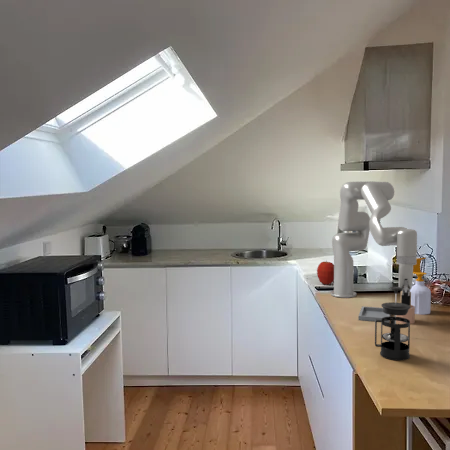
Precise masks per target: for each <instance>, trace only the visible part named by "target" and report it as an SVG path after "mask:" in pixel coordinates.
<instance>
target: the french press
mask: <svg viewBox="0 0 450 450" xmlns="http://www.w3.org/2000/svg"><path fill="white" fill-rule="evenodd" d="M388 289H390V290H392V291H394V292H393V293H394V295H395V296H394V297H395V300H394V301H395V302H389V301H388V302H384V303H381V308H383V312H384V313H386V314H389V315H390V317H383V318H382V319H381V320H375V322H374V346H375V347H376V348H380V353H379V355H380V357H382V358H383V359H387V360H389V361H390V360H391V361H399V362H400V361H408V360H409V359H410V358H411V354H410V345H411V343H410V341H411V339H410V338H411V337H410V335H411V324H410V320H408V319H406V318H402V317H396V315H406V314H407V312H408V310H409V309H410V306H409V305H407V304H403V303H400V302H397V294H398V291H402V290H403V288H400V287H398V286H390V287H389V288H388ZM388 320H390V322H389V323H387V322H384V321H388ZM397 321H402V322H406V324H402V323H397ZM378 323H380V326H381V327H380V328H381V329H380V343H379V344H378V343H377V342H378V341H377V337H378V336H377V333H378V332H377V331H378V330H377V329H378V328H377V327H378V326H377V324H378ZM383 326H384V327H388V328H390V332H386V333H383ZM406 328H408V329H407V331H408V333H407V335H406V334H403V333H401V329H406ZM383 340H385V341H383ZM406 342H407V343H406Z"/></svg>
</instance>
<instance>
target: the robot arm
mask: <svg viewBox="0 0 450 450" xmlns="http://www.w3.org/2000/svg"><path fill="white" fill-rule="evenodd" d="M394 196H395V188H394V186H393V185H392V184H391V183H390V182H388V181H347V182H345V183H343V184H342V185H341V186H340V190H339V198H340V207H339V213H338V220H337V227H338V229H339V231H342V232H339V233H336V234H334V235H333V237H332V240H331V246H332V250H333V264H334V281H333V290H332V291H331V292H330V296H332V297H335V298H343V299H345V298H346V299H347V298H348V299H349V298H355V297H357V292H356V291H354V258H353V256H352V255H351V254H350V252H361V251H364V250H365V249H366V248H367V246H368V243H369V242H368V241H369V235H370V233H371V235H372V237H373V238H372V239H374V241H375V243H376V244H377V245H379V246H382V247H384V246H385V247H387V246H396V263H395V264H397V265H398V286H397V287H400V288H403V290H401V291H402V295H401V294H400V297H401V303H403V304H407V305H410V289H411V288H412V286H413V277H414V273H413V265H416V262H417V258H418V257H417V256H418V255H417V254H418V253H417V252H418V251H417V250H418V249H417V247H418V231H417V230H415V229H412V228H406V227H404V226H390V227H389V226H388V227H383V226H382V224H381V222H380V220H381V219H383V218H385V217H387V215H389V214H390V212H391V210H392V206H391V204H390V202H389V201H391V200H392V199H393V198H394ZM358 200H360V201H361V200H363V201H364V202H365V204H366V205H367V208H368V210H369V211H370V213H371V215H369V213H367V212H365V211H358V210H359V202H358Z"/></svg>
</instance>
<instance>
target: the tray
mask: <svg viewBox="0 0 450 450" xmlns="http://www.w3.org/2000/svg"><path fill="white" fill-rule="evenodd" d="M390 316H391V315H389V314H386V313H384V312H383V307H374V306H364V305H363V306H361V308H360V311H359V314H358V319H357V321H363V322H364V321H365V322H374V323H375V320H381V319H382V318H383V317H390ZM384 322H387V323H390V322H391V320H388V321H384Z"/></svg>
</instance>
